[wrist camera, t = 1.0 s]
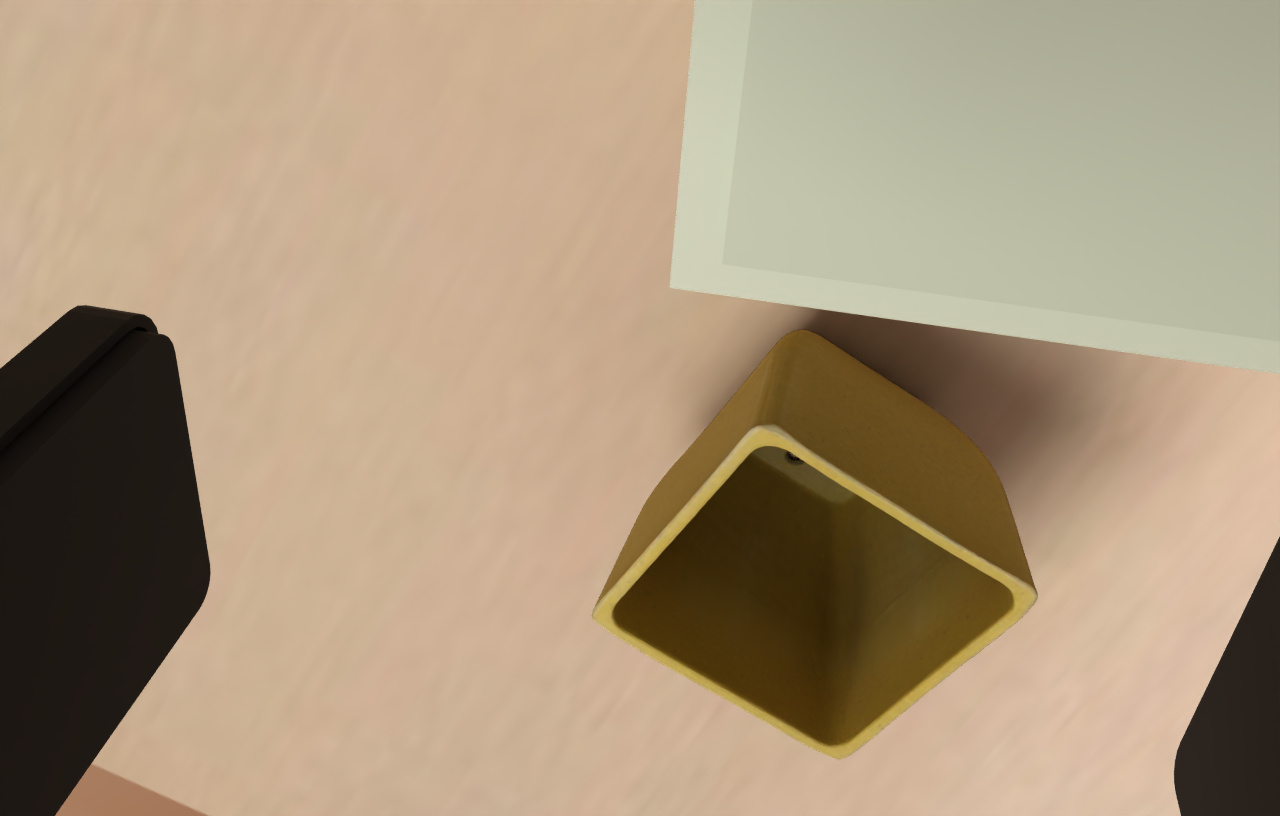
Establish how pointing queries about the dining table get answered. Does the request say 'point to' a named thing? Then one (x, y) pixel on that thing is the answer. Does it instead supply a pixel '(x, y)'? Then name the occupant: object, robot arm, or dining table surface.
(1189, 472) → the dining table surface
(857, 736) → the flower pot
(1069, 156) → the housing unit
